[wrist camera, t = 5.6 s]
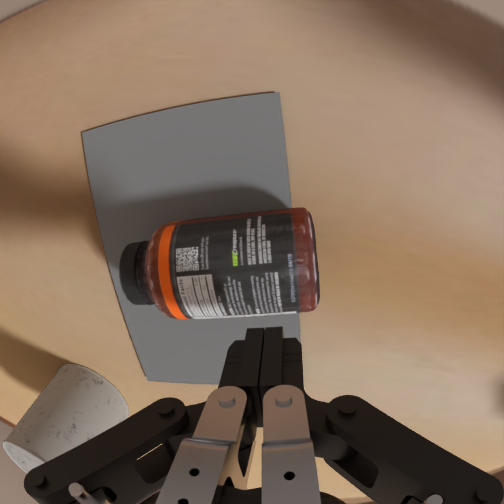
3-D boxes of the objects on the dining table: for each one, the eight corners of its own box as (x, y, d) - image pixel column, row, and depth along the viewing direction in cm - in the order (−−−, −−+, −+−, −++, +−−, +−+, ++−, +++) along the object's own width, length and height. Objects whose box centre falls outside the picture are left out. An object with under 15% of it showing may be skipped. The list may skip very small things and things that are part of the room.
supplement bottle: (312, 254, 22) (160, 266, 24) (309, 184, 18) (128, 206, 19) (319, 331, 18) (142, 336, 20) (321, 266, 14) (96, 281, 15)
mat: (279, 93, 18) (279, 92, 17) (301, 379, 25) (301, 382, 25) (85, 132, 20) (82, 132, 19) (149, 378, 27) (147, 380, 27)
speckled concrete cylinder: (102, 429, 32) (64, 501, 21) (46, 377, 30) (-6, 445, 19) (145, 413, 29) (104, 505, 18) (80, 351, 27) (15, 436, 16)
